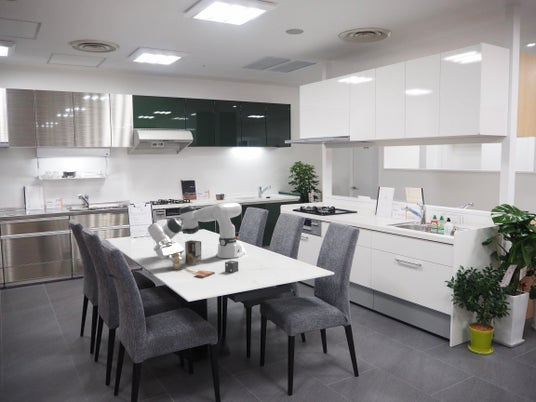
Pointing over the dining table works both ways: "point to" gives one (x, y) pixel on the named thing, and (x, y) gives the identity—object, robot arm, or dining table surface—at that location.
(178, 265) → the pawn
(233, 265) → the die
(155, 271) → the dining table surface
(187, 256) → the coffee box
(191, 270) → the game board
